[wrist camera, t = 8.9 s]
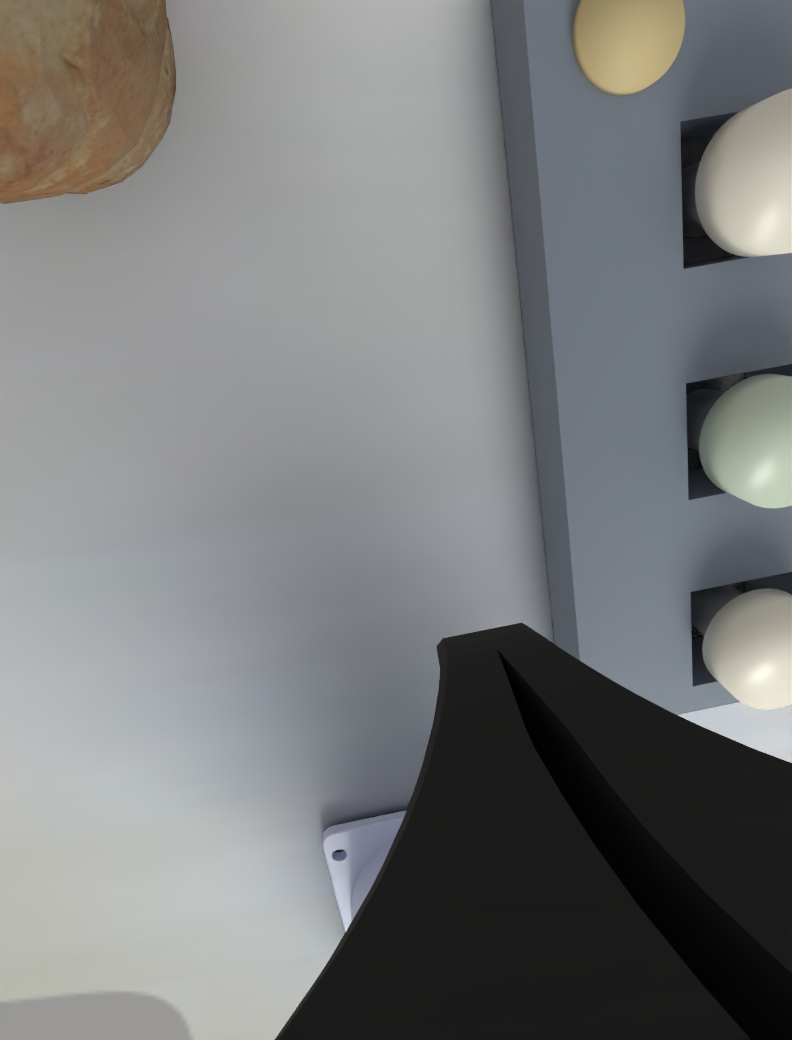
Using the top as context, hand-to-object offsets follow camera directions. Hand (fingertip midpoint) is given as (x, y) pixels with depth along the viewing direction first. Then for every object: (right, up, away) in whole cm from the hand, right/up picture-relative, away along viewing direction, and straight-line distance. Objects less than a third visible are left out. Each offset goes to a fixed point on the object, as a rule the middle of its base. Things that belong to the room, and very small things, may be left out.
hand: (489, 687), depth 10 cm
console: (+7, +7, +9) cm, 14 cm away
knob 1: (+7, +11, +8) cm, 15 cm away
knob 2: (+9, 0, +12) cm, 15 cm away
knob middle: (+8, +6, +10) cm, 14 cm away
